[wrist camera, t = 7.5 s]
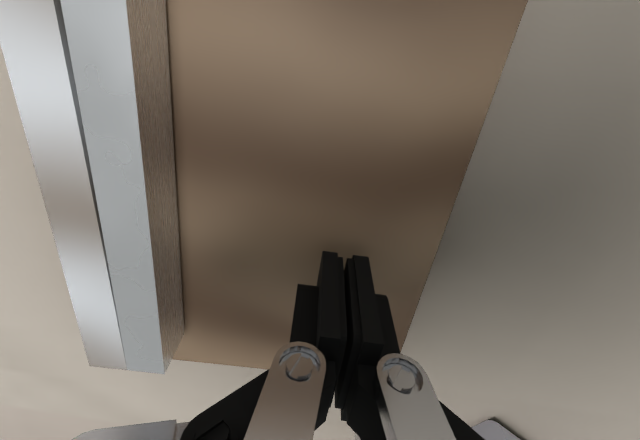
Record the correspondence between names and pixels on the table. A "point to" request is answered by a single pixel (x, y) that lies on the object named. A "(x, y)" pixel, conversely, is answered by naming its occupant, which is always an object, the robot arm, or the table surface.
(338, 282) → the robot arm
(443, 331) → the table surface
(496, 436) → the charger
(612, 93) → the table surface
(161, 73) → the tong arm
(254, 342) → the board
